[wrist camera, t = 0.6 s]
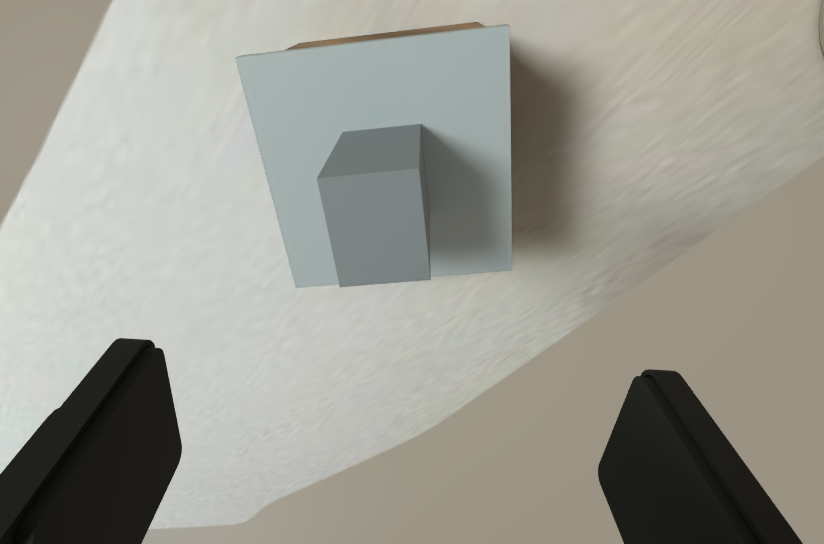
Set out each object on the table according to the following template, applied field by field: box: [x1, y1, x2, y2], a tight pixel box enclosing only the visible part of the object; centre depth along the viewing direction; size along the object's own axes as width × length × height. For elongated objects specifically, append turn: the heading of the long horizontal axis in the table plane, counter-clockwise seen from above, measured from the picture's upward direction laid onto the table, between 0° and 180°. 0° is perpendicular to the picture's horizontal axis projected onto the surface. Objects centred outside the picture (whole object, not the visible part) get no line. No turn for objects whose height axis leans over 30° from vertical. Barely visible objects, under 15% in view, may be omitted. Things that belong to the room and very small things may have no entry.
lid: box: [235, 24, 512, 288], centre depth 24 cm, size 13×13×9 cm
